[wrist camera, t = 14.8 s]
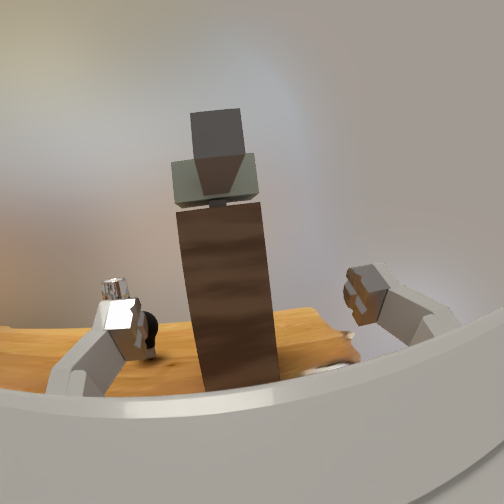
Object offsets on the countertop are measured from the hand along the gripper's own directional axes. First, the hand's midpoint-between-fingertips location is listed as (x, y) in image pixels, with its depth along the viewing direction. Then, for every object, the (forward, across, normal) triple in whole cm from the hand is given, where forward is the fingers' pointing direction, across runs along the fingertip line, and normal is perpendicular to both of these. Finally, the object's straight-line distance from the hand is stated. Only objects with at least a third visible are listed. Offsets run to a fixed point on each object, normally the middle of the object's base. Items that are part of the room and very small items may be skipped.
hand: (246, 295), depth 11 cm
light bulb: (+27, -17, -40) cm, 51 cm away
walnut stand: (+18, 0, -34) cm, 39 cm away
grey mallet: (+20, 0, -4) cm, 20 cm away
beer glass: (+40, -27, -47) cm, 67 cm away
